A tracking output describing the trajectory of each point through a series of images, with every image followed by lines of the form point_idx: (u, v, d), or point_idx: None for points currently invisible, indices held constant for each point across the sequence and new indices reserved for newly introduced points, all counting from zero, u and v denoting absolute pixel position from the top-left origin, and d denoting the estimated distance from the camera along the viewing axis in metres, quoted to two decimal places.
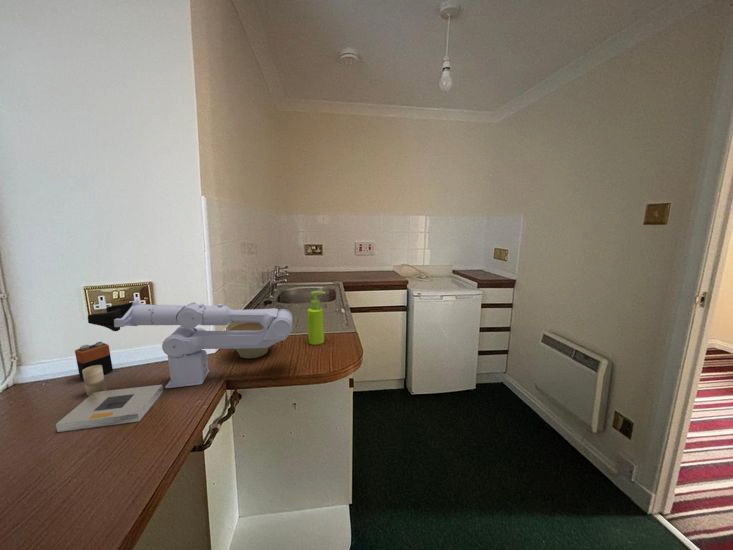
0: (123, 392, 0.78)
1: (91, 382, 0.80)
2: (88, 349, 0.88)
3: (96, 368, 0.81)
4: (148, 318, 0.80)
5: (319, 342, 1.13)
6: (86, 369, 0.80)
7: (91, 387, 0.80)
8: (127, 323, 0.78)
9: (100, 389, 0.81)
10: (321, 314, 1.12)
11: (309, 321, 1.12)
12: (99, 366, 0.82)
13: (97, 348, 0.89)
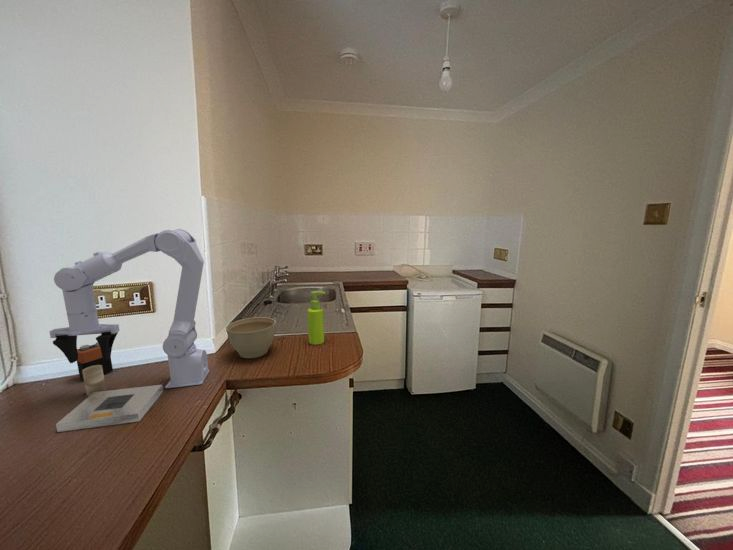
0: (123, 392, 0.78)
1: (91, 382, 0.80)
2: (88, 349, 0.88)
3: (96, 368, 0.81)
4: (95, 313, 0.79)
5: (319, 342, 1.13)
6: (86, 369, 0.80)
7: (91, 387, 0.80)
8: (107, 325, 0.81)
9: (100, 389, 0.81)
10: (321, 314, 1.12)
11: (309, 321, 1.12)
12: (99, 366, 0.82)
13: (97, 348, 0.89)
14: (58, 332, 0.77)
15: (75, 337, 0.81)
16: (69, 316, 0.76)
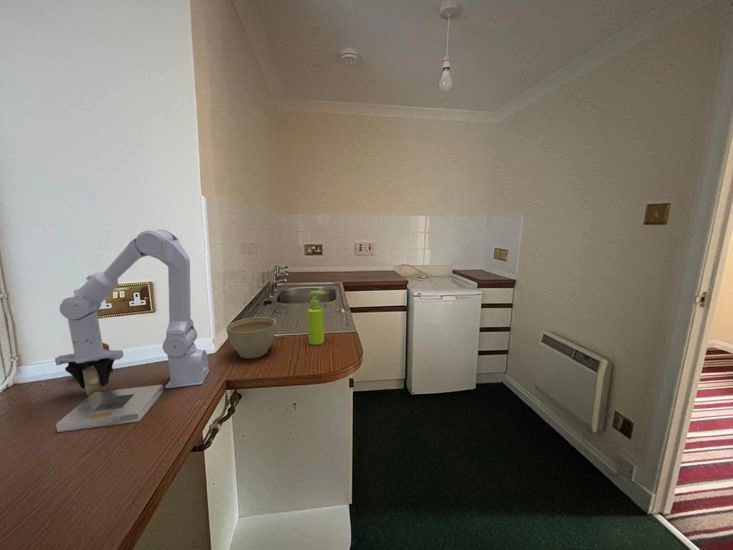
0: (123, 392, 0.78)
1: (91, 382, 0.80)
2: None
3: None
4: (99, 339, 0.80)
5: (319, 342, 1.13)
6: (86, 369, 0.80)
7: (91, 387, 0.80)
8: (112, 351, 0.82)
9: (100, 389, 0.81)
10: (321, 314, 1.12)
11: (309, 321, 1.12)
12: None
13: None
14: (63, 359, 0.78)
15: (86, 362, 0.82)
16: (74, 344, 0.77)
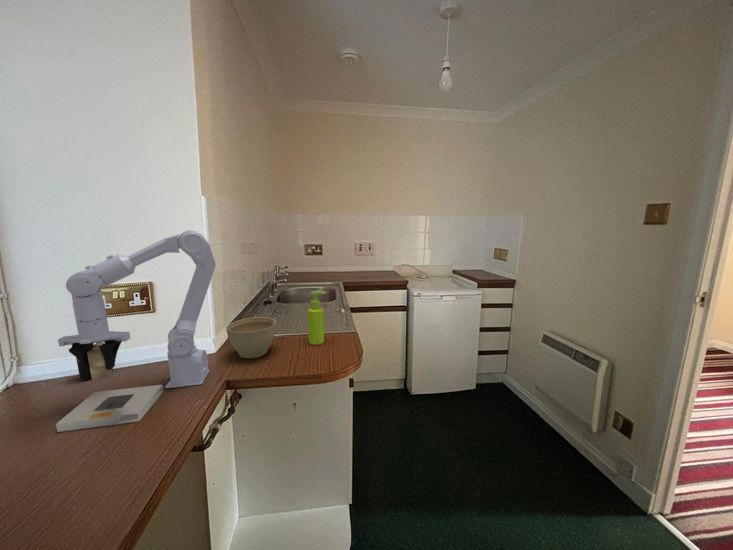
0: (123, 392, 0.78)
1: (97, 365, 0.75)
2: None
3: None
4: (105, 320, 0.75)
5: (319, 342, 1.13)
6: (91, 351, 0.75)
7: (97, 370, 0.75)
8: (118, 333, 0.77)
9: (106, 372, 0.76)
10: (321, 314, 1.12)
11: (309, 321, 1.12)
12: None
13: None
14: (67, 340, 0.73)
15: (91, 344, 0.77)
16: (78, 323, 0.72)
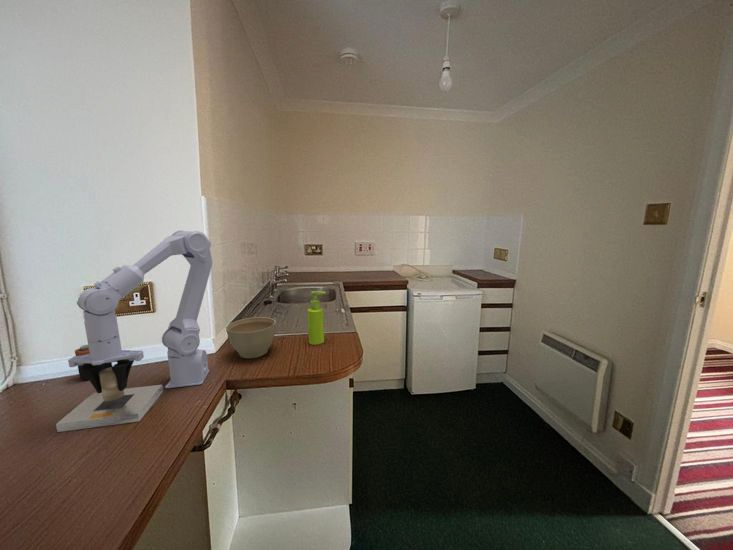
0: None
1: (110, 386, 0.72)
2: (88, 349, 0.88)
3: None
4: (118, 339, 0.72)
5: (319, 342, 1.13)
6: (103, 371, 0.72)
7: (110, 391, 0.72)
8: (131, 352, 0.74)
9: (119, 393, 0.73)
10: (321, 314, 1.12)
11: (309, 321, 1.12)
12: None
13: None
14: (78, 361, 0.69)
15: (103, 364, 0.74)
16: (90, 343, 0.68)
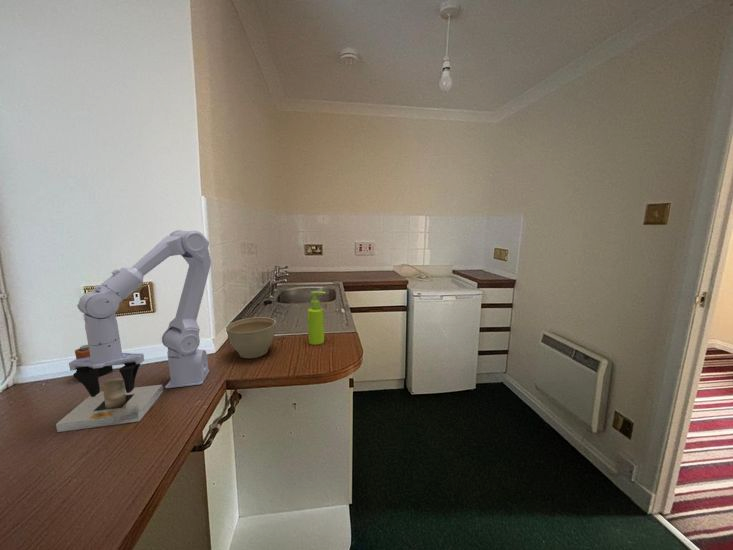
0: None
1: (113, 397, 0.72)
2: (88, 349, 0.88)
3: (118, 381, 0.74)
4: (118, 342, 0.72)
5: (319, 342, 1.13)
6: (107, 382, 0.73)
7: (113, 402, 0.73)
8: (131, 355, 0.74)
9: (121, 405, 0.74)
10: (321, 314, 1.12)
11: (309, 321, 1.12)
12: (121, 379, 0.75)
13: None
14: (78, 364, 0.70)
15: (96, 368, 0.73)
16: (91, 347, 0.69)
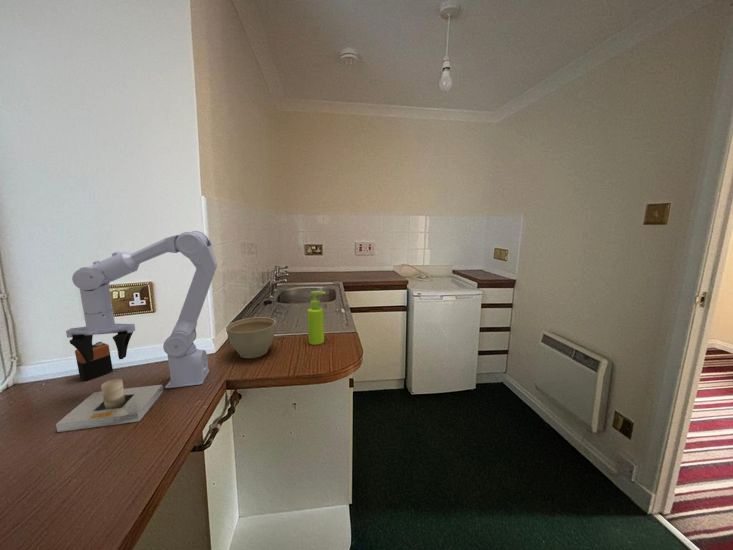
0: None
1: (112, 399, 0.72)
2: None
3: (116, 383, 0.73)
4: (111, 312, 0.79)
5: (319, 342, 1.13)
6: (105, 384, 0.73)
7: (112, 404, 0.72)
8: (123, 325, 0.81)
9: (121, 405, 0.74)
10: (321, 314, 1.12)
11: (309, 321, 1.12)
12: (119, 380, 0.74)
13: (97, 348, 0.89)
14: (75, 331, 0.77)
15: (91, 336, 0.81)
16: (86, 315, 0.76)
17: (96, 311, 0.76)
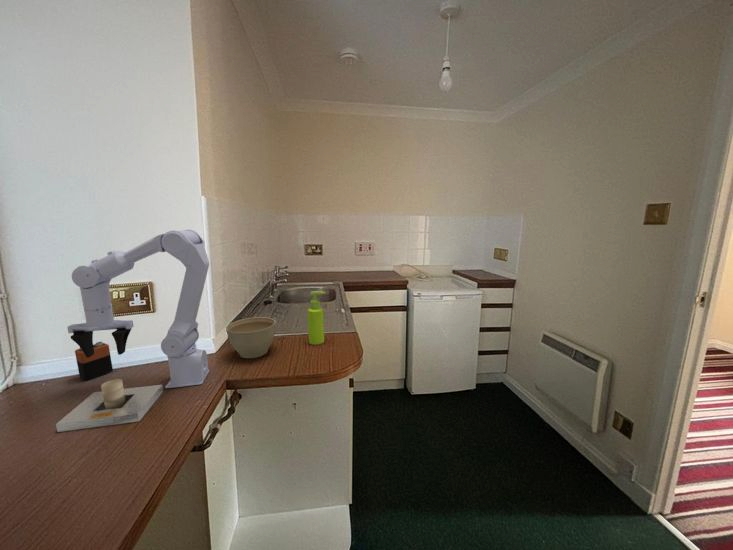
0: None
1: (112, 399, 0.72)
2: None
3: (116, 383, 0.73)
4: (110, 309, 0.82)
5: (319, 342, 1.13)
6: (105, 384, 0.73)
7: (112, 404, 0.72)
8: (122, 321, 0.84)
9: (121, 405, 0.74)
10: (321, 314, 1.12)
11: (309, 321, 1.12)
12: (119, 380, 0.74)
13: (97, 348, 0.89)
14: (76, 327, 0.80)
15: (91, 332, 0.84)
16: (86, 312, 0.79)
17: (93, 308, 0.79)
